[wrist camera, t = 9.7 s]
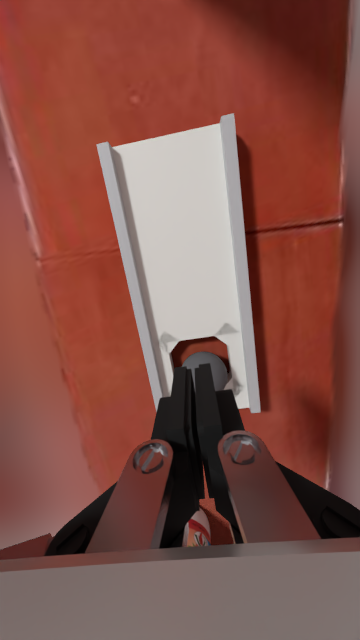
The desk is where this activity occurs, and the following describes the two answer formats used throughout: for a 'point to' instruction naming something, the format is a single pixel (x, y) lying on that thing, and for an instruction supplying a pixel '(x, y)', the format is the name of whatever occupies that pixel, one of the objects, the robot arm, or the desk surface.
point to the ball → (216, 367)
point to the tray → (185, 249)
